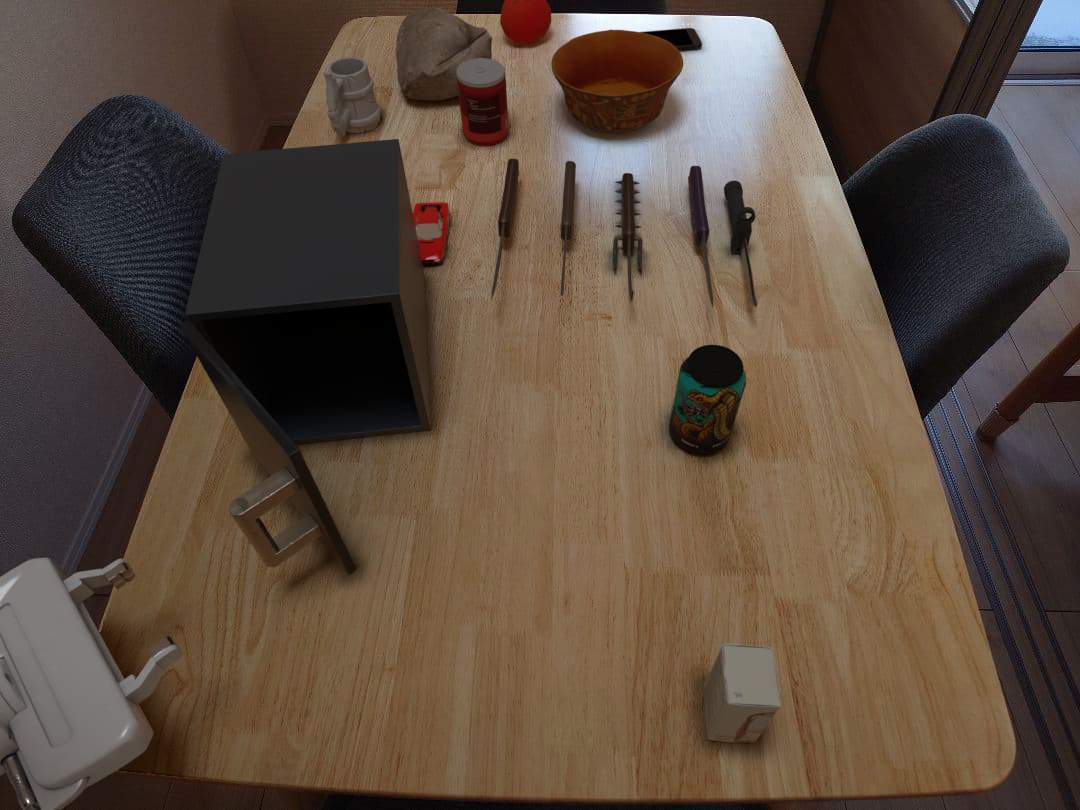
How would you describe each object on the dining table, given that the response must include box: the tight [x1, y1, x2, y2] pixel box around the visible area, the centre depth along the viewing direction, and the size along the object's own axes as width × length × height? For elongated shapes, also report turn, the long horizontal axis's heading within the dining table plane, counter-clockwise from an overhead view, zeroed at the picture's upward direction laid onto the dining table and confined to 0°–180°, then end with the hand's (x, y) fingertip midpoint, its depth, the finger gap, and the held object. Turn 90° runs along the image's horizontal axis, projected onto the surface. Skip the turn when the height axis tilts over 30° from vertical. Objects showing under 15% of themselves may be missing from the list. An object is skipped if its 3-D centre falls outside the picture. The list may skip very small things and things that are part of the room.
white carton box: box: [703, 642, 782, 744], centre depth 65 cm, size 5×4×10 cm
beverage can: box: [668, 344, 747, 455], centre depth 83 cm, size 7×7×12 cm
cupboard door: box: [178, 319, 357, 575], centre depth 73 cm, size 7×20×22 cm, turn 42°
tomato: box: [499, 0, 552, 44], centre depth 143 cm, size 9×10×8 cm
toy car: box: [412, 201, 451, 266], centre depth 109 cm, size 12×5×3 cm, turn 1°
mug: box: [323, 56, 382, 138], centre depth 124 cm, size 8×12×12 cm, turn 163°
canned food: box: [456, 58, 509, 147], centre depth 122 cm, size 8×8×11 cm
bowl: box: [550, 29, 684, 132], centre depth 125 cm, size 21×21×10 cm
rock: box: [395, 6, 493, 102], centre depth 132 cm, size 16×17×15 cm
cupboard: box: [184, 138, 432, 446], centre depth 88 cm, size 26×20×22 cm
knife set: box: [490, 158, 758, 308], centre depth 104 cm, size 35×33×8 cm
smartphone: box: [641, 27, 703, 51], centre depth 143 cm, size 7×15×1 cm, turn 97°
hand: (152, 604), depth 64 cm, fingers open, 8 cm apart
